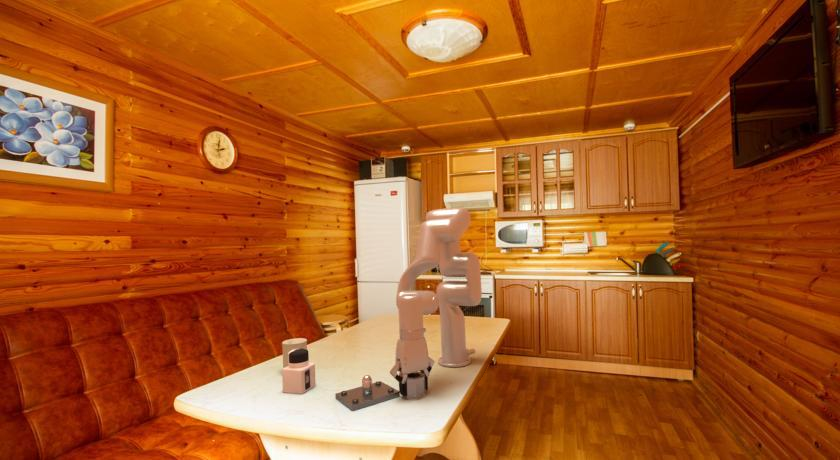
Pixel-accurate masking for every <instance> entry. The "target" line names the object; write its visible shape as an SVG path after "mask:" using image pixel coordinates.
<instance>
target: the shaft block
mask: <svg viewBox="0 0 840 460" xmlns="http://www.w3.org/2000/svg"><path fill="white" fill-rule="evenodd" d="M361 385H362V386H359V387H354V388H352V389H348V390H342V391H341V392H336V393H335V394H334V395H335V400H337V401H338V402H339V403H341V404H342V405H344V407H346V408H347V409H349V410H350V411H352V412H355V411H357V410H361V409H364V408H367V407H370V406H373V405H377V404H381V403H383V402H386V401H389V400H392V399H393V400H394V399H396V398H400V397H401V394H400V392H399V390H398V389H397V388H395V387H392V386H390V385H389V384H386V383H384V382H383V381H381V380H379V381H375V382H373V378H372V377H371V375H369V374H365V375H364V376H363V377H362V379H361Z"/></svg>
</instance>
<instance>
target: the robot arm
mask: <svg viewBox="0 0 840 460" xmlns="http://www.w3.org/2000/svg"><path fill="white" fill-rule="evenodd" d="M470 224H471V214H470V212H469V210H468V209H467V208H466V207H450V208H449V207H448V208H447V207H446V208H438V209H432V210H429V211H428V212H427V213H426V214H425V220H424V221H423V222H422V223H421V225H420V228H419V232H418V240H417V245H416V250H415V251H416V252H415V257H414V260H413V262H411V264H409V266H407V268H406V269H405V270H404V272H403V273H402V274H401V275H400V278H399V282H398V284H397V285H398V286H397V291H396V298H395V299H396V300H395V301H396V302H395V305H396V307H397V310H398V324H399V325H398V329H399V331H398V332H399V339H397V341H396V347H395V359H394V361H395V364H394V365H393V366H392V368H391V369H390V371H389V374H390V375H391V376H392V377H393V378H394V379H395V380H396V381H397V382H398V387H399V388H398V389H399V390H398V391H399V392H400V396H402V395H403V396H405V397H406V396H407V383H405V381H406V378H407V375H408V374H410V373H414V372H422V373H425V380H426V391H428V390H429V376H430V373H431V372H432V369H433V366H434V364H435V362H436V361H435V360H434V359H432V358H431V357H430V356H429V348H428V344H427V340H426V337H425V333H426V332H427V329H426V327H424V316H425V315H431V314H433V313H435V312H437V310H438V309H439V321H440V322H439V323H440V324H439V325H440V341H441V342H440V344H441V357H439V358H438V360H437V361H438V364H439V365H440V366H442V367H446V368H447V367H448V368H459V367H460V368H461V367H465V366H469V364H471V362H472V361H471V360H472V359H471V358H470V357H469V356H470V355H474V354H476V349H475V348H471V349H468V348H467V342H466V338H467V337H466V323H465V322H466V321H465V320H466V318H465V315H464V312H463V311H462V309H461V306H462V307H476V306H478V305H480V303H481V302H482V295H483V294H482V276H481V275H482V274H481V272H482V271H481V263H480V259H479V257H478V255H477V254H476V253H474V252H461V245H460V244H461V242H460V239H461V238H462V236H463V235H464V234H465V233H466V231H467V230H468V229H469V227H470ZM438 266H439V272H440V275H441V276H443V277H445V278H466V280H445V281H441V282H439V284H437V287H436V291H435V292H434V291H431V290H413V289H412V285H413V284H414V282H415V281H416V279H417V278H419V277H420V276H422V275H424V274H425V273H427V272H429V271H432V270H433V269H435V268H437V267H438ZM411 289H412V290H411ZM397 372H398V373H397ZM402 376H403V377H402Z"/></svg>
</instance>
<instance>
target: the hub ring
mask: <svg viewBox="0 0 840 460" xmlns="http://www.w3.org/2000/svg"><path fill="white" fill-rule="evenodd" d="M402 377H403V376H402ZM405 383H407V396H406V397H405V396H403V395H401V396H402V397H403V398H404V399H406V400H419V399H422V398H425V397H426V394H427V390H426V380H425V373H422V372H420V371H417V372H414V373H410V374H408V375H407V378H406V381H405Z"/></svg>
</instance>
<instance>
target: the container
mask: <svg viewBox="0 0 840 460" xmlns="http://www.w3.org/2000/svg"><path fill="white" fill-rule="evenodd" d="M309 356H310V355H309V350H308V348H307V349H303V348H300V349H294V350H291V351H290V352H289V353H288V365H289V366H287V367H285V368H283V367H282V369H281V375H282V377H281V378H282V379H281V380H282V381H281V382H282V393H286V394H295V395H296V394H298V395H303V394H304V393H306V392H308V391H310V390H311V389H313V388H314V387H316V382H317V381H316V364H315V363H314V362H310V360H309V358H310V357H309Z"/></svg>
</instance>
